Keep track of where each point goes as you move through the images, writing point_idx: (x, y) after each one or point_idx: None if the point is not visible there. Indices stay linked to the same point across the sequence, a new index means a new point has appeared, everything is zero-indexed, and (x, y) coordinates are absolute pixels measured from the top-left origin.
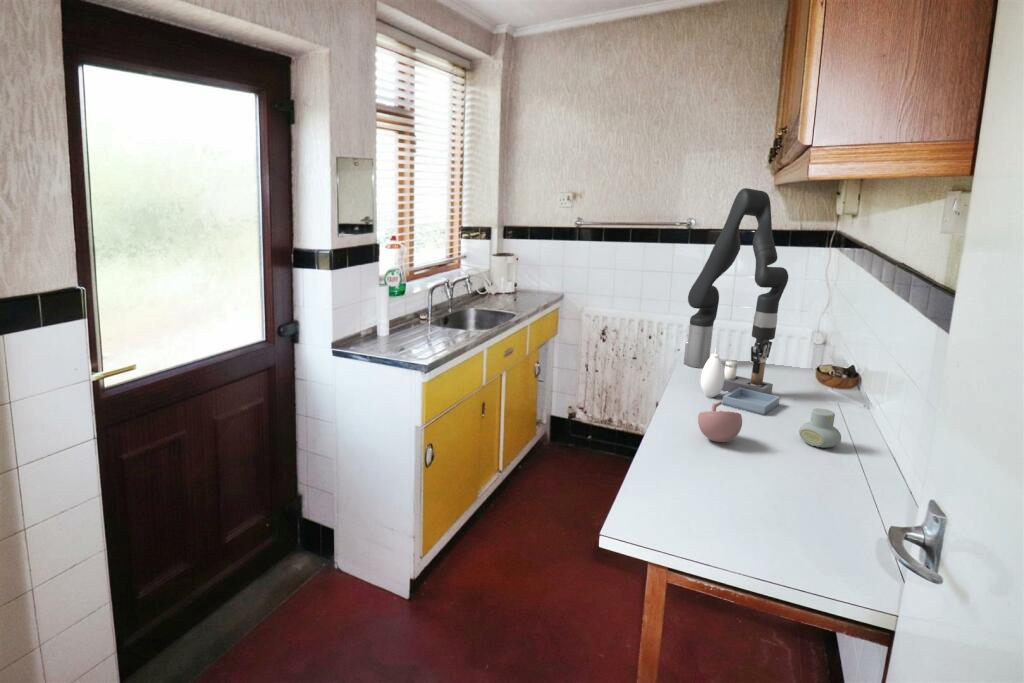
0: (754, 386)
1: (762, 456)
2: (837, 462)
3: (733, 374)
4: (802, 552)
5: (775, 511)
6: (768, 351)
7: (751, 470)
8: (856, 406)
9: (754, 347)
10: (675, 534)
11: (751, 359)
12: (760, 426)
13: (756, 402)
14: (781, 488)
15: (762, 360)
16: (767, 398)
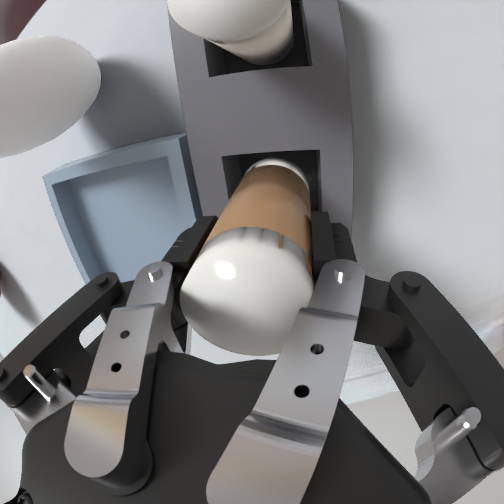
0: (215, 208)
1: (22, 321)
2: None
3: (227, 50)
4: (5, 352)
5: (4, 339)
6: (401, 391)
7: (5, 317)
8: (388, 390)
9: (10, 403)
10: None
11: (86, 290)
12: (64, 296)
13: (154, 240)
14: (17, 341)
15: (212, 340)
16: None
